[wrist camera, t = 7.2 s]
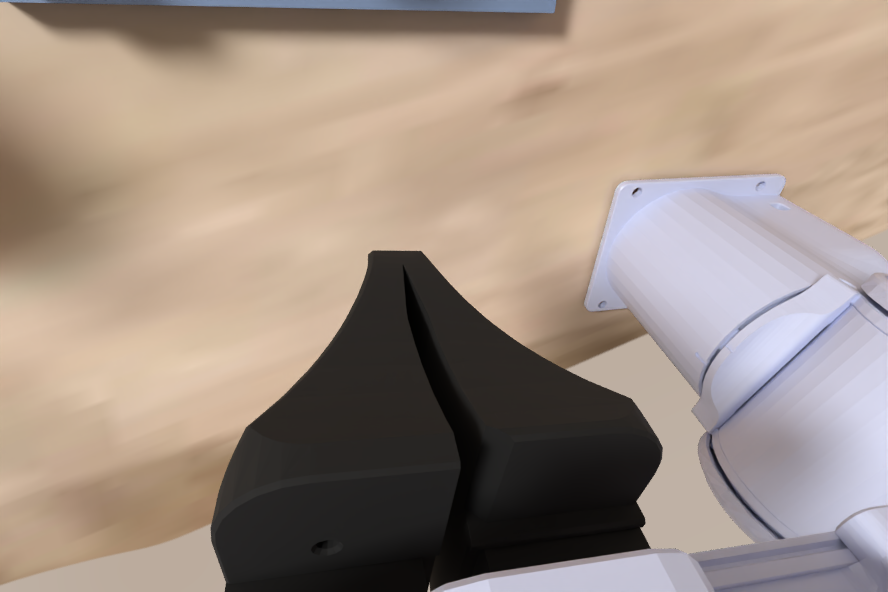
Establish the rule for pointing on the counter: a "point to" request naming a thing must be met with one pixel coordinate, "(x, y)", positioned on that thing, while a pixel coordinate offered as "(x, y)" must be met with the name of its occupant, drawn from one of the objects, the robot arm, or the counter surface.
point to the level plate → (346, 4)
